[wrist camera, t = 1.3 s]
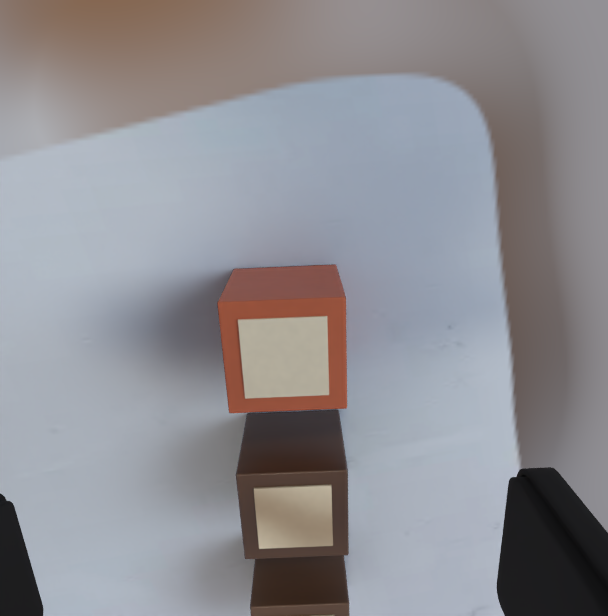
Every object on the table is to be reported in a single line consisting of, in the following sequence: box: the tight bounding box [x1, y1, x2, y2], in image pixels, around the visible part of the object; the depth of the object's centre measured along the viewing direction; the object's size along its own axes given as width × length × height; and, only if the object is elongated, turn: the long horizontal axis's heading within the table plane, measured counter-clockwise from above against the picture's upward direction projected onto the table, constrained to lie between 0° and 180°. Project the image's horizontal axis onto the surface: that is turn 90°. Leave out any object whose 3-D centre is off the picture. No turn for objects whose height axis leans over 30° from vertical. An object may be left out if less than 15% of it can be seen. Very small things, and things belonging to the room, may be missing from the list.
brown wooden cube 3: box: [250, 555, 349, 616], centre depth 22 cm, size 4×4×4 cm
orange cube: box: [217, 265, 347, 413], centre depth 17 cm, size 4×4×4 cm
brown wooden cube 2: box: [236, 410, 349, 559], centre depth 19 cm, size 4×4×4 cm
